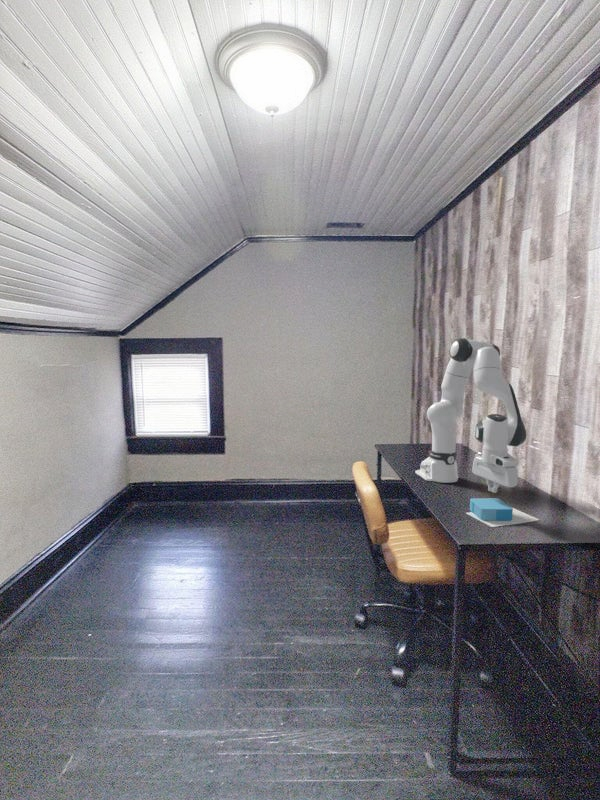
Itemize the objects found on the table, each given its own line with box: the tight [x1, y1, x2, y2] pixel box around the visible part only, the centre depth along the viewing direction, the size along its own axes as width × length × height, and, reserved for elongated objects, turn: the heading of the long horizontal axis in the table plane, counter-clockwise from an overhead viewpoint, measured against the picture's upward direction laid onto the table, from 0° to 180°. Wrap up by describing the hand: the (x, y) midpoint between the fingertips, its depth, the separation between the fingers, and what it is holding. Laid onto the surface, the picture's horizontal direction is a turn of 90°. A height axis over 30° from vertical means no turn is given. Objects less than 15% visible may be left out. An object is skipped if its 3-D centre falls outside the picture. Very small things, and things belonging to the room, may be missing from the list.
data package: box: [469, 497, 514, 521], centre depth 163 cm, size 12×4×12 cm
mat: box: [465, 507, 540, 528], centre depth 162 cm, size 14×22×1 cm, turn 108°
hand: (492, 491), depth 165 cm, fingers closed
